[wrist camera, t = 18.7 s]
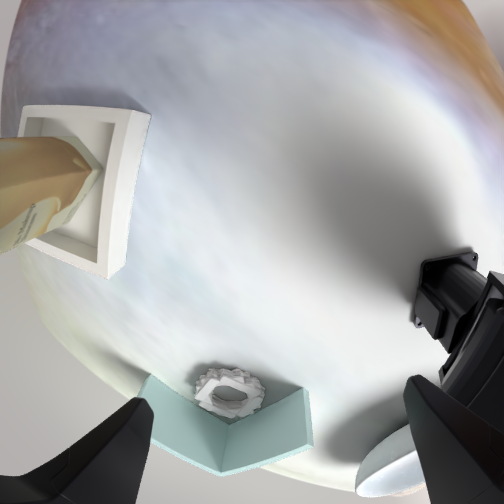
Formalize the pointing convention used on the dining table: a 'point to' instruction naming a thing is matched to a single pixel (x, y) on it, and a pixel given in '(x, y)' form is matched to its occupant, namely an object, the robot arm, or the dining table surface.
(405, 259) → the dining table surface
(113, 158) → the holder tray
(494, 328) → the robot arm
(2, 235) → the skincare box
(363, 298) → the dining table surface
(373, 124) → the dining table surface
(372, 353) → the dining table surface
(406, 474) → the serving bowl
